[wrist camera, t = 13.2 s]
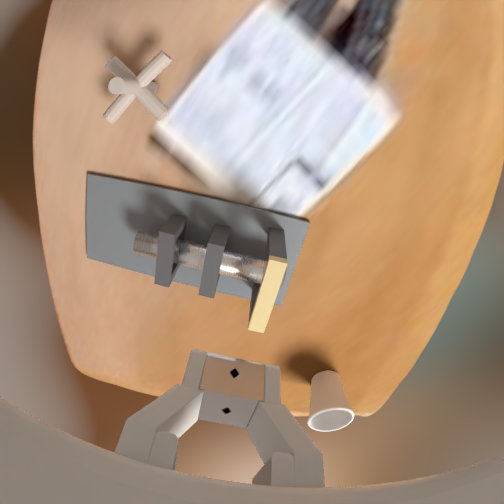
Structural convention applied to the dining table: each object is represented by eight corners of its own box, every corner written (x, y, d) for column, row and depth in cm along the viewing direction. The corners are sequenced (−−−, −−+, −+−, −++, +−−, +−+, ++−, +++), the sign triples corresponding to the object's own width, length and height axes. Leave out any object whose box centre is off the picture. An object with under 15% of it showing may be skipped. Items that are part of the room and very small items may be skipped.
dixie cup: (299, 390, 57) (301, 430, 48) (311, 363, 53) (316, 407, 44) (337, 392, 57) (343, 432, 48) (352, 367, 53) (362, 409, 44)
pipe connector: (205, 86, 33) (183, 80, 24) (150, 140, 36) (115, 153, 27) (155, 38, 30) (121, 21, 21) (104, 92, 33) (61, 94, 24)
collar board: (89, 173, 38) (50, 193, 30) (309, 221, 40) (319, 254, 32) (88, 256, 45) (58, 287, 36) (280, 303, 47) (282, 347, 38)
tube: (143, 224, 40) (133, 235, 37) (286, 258, 41) (287, 272, 38) (141, 247, 41) (132, 258, 38) (279, 279, 42) (279, 294, 39)
